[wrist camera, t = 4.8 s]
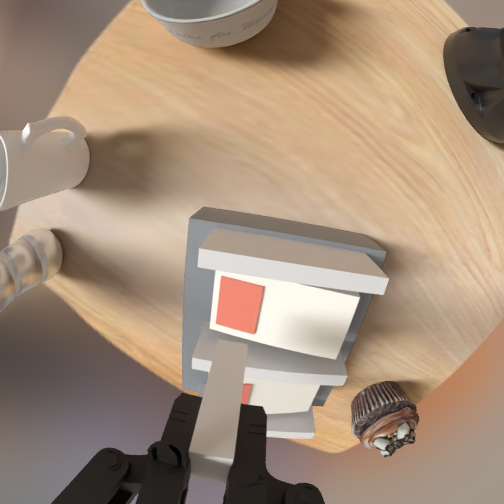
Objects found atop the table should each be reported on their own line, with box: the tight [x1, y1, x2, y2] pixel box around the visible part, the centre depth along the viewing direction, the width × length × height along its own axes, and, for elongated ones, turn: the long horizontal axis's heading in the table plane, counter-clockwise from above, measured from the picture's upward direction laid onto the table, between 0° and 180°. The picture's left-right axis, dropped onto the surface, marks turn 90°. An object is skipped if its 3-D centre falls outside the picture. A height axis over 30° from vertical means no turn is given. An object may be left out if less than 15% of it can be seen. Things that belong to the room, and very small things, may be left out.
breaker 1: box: [210, 270, 360, 360], centre depth 19 cm, size 10×6×2 cm, turn 81°
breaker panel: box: [182, 207, 389, 439], centre depth 23 cm, size 16×19×10 cm
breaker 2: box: [208, 374, 320, 414], centre depth 22 cm, size 10×6×2 cm, turn 81°
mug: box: [0, 117, 90, 211], centre depth 18 cm, size 10×7×12 cm, turn 117°
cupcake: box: [351, 381, 419, 457], centre depth 28 cm, size 10×10×10 cm
